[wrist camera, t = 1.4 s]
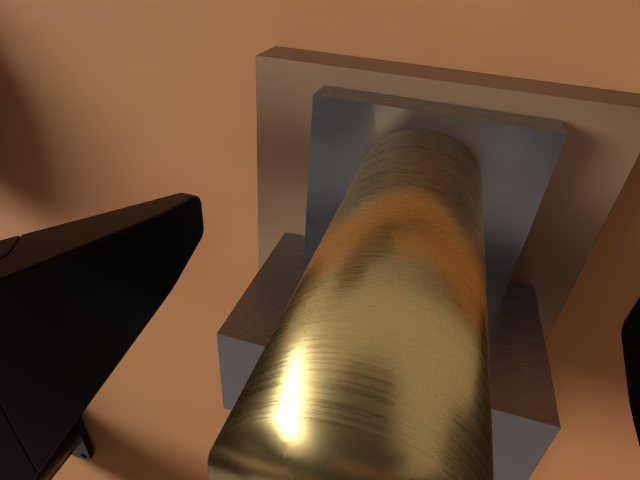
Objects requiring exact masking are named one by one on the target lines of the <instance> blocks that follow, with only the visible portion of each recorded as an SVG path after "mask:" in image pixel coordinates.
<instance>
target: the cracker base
mask: <svg viewBox="0 0 640 480" xmlns="http://www.w3.org/2000/svg"><path fill="white" fill-rule="evenodd" d="M324 85H325V86H332V87H339V88H345V89H352V90H359V91H366V92H373V93H380V94H386V95H393V96H400V97H407V98H414V99H421V100H427V101H434V102H441V103H448V104H455V105H462V106H468V107H475V108H482V109H489V110H496V111H503V112H509V113H516V114H523V115H530V116H537V117H544V118H550V119H557V120H561V121H562V123H563V125H564V127H565V129H566V131H567V133H568V135H567V137H566V140H565V142H564V145H563V147H562V150H561V153H560V155H559V158H558V160H557V163H556V165H555V168H554V170H553V173H552V175H551V178H550V180H549V183H548V185H547V188H546V190H545V193H544V195H543V198H542V200H541V203H540V206H539V208H538V211H537V213H536V216H535V218H534V221H533V223H532V226H531V228H530V231H529V233H528V236H527V238H526V241H525V243H524V246H523V248H522V251H521V253H520V256H519V259H518V261H517V264H516V266H515V269H514V271H513V274H512V276H511V279H510V281H509V282H513V283H517V284H522V285H527V286H531V287H535V292H536V298H537V303H538V309H539V314H540V319H541V325H542V330H543V335H544V341H545V340H546V338H547V336H548V334H549V332H550V330H551V328H552V326H553V324H554V322H555V320H556V318H557V316H558V314H559V312H560V310H561V308H562V306H563V304H564V302H565V301H566V299H567V297H568V295H569V293H570V291H571V289H572V287H573V285H574V283H575V281H576V279H577V277H578V275H579V273H580V271H581V269H582V267H583V265H584V263H585V261H586V259H587V257H588V255H589V253H590V251H591V249H592V247H593V245H594V243H595V241H596V239H597V237H598V235H599V233H600V231H601V229H602V227H603V225H604V223H605V221H606V219H607V217H608V215H609V213H610V211H611V209H612V207H613V205H614V203H615V201H616V199H617V197H618V195H619V193H620V191H621V189H622V187H623V185H624V183H625V181H626V179H627V178H628V176H629V174H630V172H631V170H632V168H633V166H634V164H635V162H636V160H637V158H638V156H639V154H640V94H636V93H628V92H621V91H613V90H605V89H598V88H590V87H583V86H575V85H567V84H560V83H552V82H544V81H537V80H529V79H522V78H514V77H506V76H499V75H491V74H483V73H476V72H468V71H461V70H453V69H445V68H438V67H430V66H422V65H415V64H407V63H400V62H392V61H384V60H377V59H369V58H361V57H354V56H346V55H339V54H331V53H323V52H316V51H308V50H300V49H293V48H285V47H278V46H275V47H273V48H271V49H269V50H267V51H264V52H262V53H260V54H258V55H256V97H257V166H258V235H259V270H260V269H261V267H262V266H263V264H264V263H265V261H266V260H267V258H268V257H269V255H270V254H271V252H272V251H273V249H274V248H275V246H276V245H277V244H278V242H279V241H280V239H281V238H282V236H283V235H284V233H289V234H293V235H298V236H302V237H305V226H306V208H307V190H308V173H309V155H310V137H311V120H312V102H313V94H314V93H316V92H317V91H318V90H319V89H320V88H321V87H322V86H324Z"/></svg>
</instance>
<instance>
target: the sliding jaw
mask: <svg viewBox="0 0 640 480" xmlns="http://www.w3.org/2000/svg"><path fill="white" fill-rule="evenodd" d="M567 135H568V133H567V131H566V129H565V127H564V125H563V123H562V121H561V120H557V119H550V118H544V117H537V116H530V115H523V114H516V113H509V112H503V111H496V110H489V109H482V108H475V107H468V106H462V105H455V104H448V103H441V102H434V101H427V100H421V99H414V98H407V97H400V96H393V95H386V94H380V93H373V92H366V91H359V90H352V89H345V88H339V87H332V86H325V85H324V86H322V87H321V88H320V89H319V90H318V91H317V92H316V93H314V94H313V102H312V120H311V137H310V155H309V173H308V190H307V208H306V226H305V237H302V236H298V235H293V234H289V233H284V235H283V236H282V238H281V239H280V241H279V242H278V244H277V245H276V246H275V248H274V249H273V251H272V252H271V254H270V255H269V257H268V258H267V260H266V261H265V263H264V264H263V266H262V267H261V269H260V270H259V272H258V273H257V275H256V276H255V278H254V279H253V281H252V282H251V284H250V285H249V287H248V288H247V290H246V291H245V293H244V294H243V296H242V297H241V299H240V300H239V302H238V303H237V304H236V306H235V307H234V309H233V310H232V312H231V313H230V315H229V316H228V318H227V319H226V321H225V322H224V324H223V325H222V327H221V328H220V330H219V331H218V333H217V339H218V350H219V361H220V372H221V383H222V394H223V405H224V408H226V409H230V410H232V411H231V413H230V414H229V416H228V418H227V420H226V422H225V424H224V426H223V428H222V430H221V432H220V433H219V435H218V437H217V439H216V441H215V443H214V445H213V447H212V449H211V451H210V453H209V458H208V472H209V476H210V480H528V479H529V477H530V476H531V474H532V472H533V471H534V469H535V468H536V466H537V465H538V463H539V461H540V460H541V458H542V457H543V455H544V453H545V452H546V450H547V449H548V447H549V446H550V444H551V442H552V441H553V439H554V438H555V436H556V434H557V433H558V431H559V430H560V428H561V427H560V421H559V416H558V411H557V405H556V400H555V395H554V389H553V384H552V378H551V373H550V368H549V362H548V357H547V352H546V346H545V341H544V335H543V330H542V325H541V319H540V314H539V309H538V303H537V298H536V292H535V287H531V286H527V285H522V284H517V283H513V282H509V281H510V279H511V276H512V274H513V271H514V269H515V266H516V264H517V261H518V259H519V256H520V253H521V251H522V248H523V246H524V243H525V241H526V238H527V236H528V233H529V231H530V228H531V226H532V223H533V221H534V218H535V216H536V213H537V211H538V208H539V206H540V203H541V200H542V198H543V195H544V193H545V190H546V188H547V185H548V183H549V180H550V178H551V175H552V173H553V170H554V168H555V165H556V163H557V160H558V158H559V155H560V153H561V150H562V147H563V145H564V142H565V140H566V137H567Z"/></svg>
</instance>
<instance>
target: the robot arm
mask: <svg viewBox="0 0 640 480" xmlns="http://www.w3.org/2000/svg"><path fill="white" fill-rule="evenodd" d="M203 230H204V226H203V216H202V205H201V201H200V199H199V197H198V196H195V195H190V194H186V193H178V194H175V195H171V196H167V197H163V198H159V199H156V200H152V201H148V202H144V203H141V204H137V205H133V206H129V207H125V208H122V209H118V210H114V211H110V212H107V213H103V214H99V215H95V216H91V217H88V218H84V219H80V220H76V221H73V222H69V223H65V224H61V225H57V226H54V227H50V228H46V229H42V230H39V231H35V232H31V233H27V234H23V235H22V236H21V237H20V236H16V237H12V238H8V239H4V240H0V480H51V479H52V478H53V477H54V475H55V474H56V473H57V472H58V470H59V469H60V468H61V467H62V465H63V464H64V463H65V462H66V460H67V459H68V458H69V457H70V455H74V456H77V457H79V458H82V459H85V460H90V459H91V458H92V457H93V455H94V452H93V449H92V447H91V444H90V442H89V439H88V437H87V434H86V432H85V429H84V427H83V424H82V422H81V419H80V415H81V414H82V413H83V411H84V410H85V409H86V407H87V406H88V405H89V403H90V402H91V400H92V399H93V398H94V396H95V395H96V394H97V392H98V391H99V389H100V388H101V387H102V385H103V384H104V383H105V381H106V380H107V378H108V377H109V376H110V374H111V373H112V372H113V370H114V369H115V367H116V366H117V365H118V363H119V362H120V361H121V359H122V358H123V356H124V355H125V354H126V352H127V351H128V350H129V348H130V347H131V345H132V344H133V343H134V341H135V340H136V339H137V337H138V336H139V334H140V333H141V332H142V330H143V329H144V328H145V326H146V325H147V323H148V322H149V321H150V319H151V318H152V317H153V315H154V314H155V313H156V311H157V310H158V308H159V307H160V306H161V304H162V303H163V302H164V300H165V299H166V297H167V296H168V294H169V293H170V292H171V290H172V289H173V287H174V285H175V284H176V282H177V281H178V279H179V277H180V275H181V273H182V272H183V270H184V268H185V266H186V265H187V263H188V261H189V259H190V258H191V256H192V254H193V252H194V250H195V249H196V247H197V245H198V243H199V242H200V240H201V238H202V235H203ZM621 335H622V344H623V353H624V362H625V370H626V379H627V387H628V395H629V402H630V408H631V412H632V417H633V421H634V425H635V429H636V433H637V437H638V441H639V445H640V297H639V299H638V301H637V302H636V304H635V305H634V307H633V309H632V310H631V312H630V313H629V315H628V317H627V318H626V320H625V321H624V323H623V326H622V332H621Z"/></svg>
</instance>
